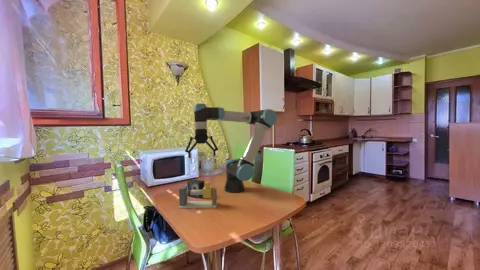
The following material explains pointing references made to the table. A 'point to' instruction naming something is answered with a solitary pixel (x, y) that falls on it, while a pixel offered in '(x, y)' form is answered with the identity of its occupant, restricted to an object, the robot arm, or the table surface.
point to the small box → (195, 186)
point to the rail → (196, 204)
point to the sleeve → (207, 190)
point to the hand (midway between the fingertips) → (202, 162)
